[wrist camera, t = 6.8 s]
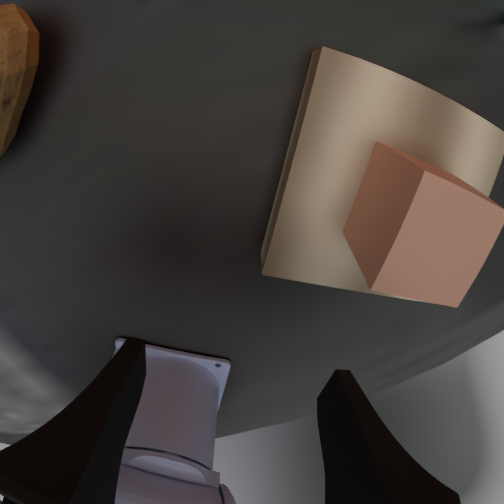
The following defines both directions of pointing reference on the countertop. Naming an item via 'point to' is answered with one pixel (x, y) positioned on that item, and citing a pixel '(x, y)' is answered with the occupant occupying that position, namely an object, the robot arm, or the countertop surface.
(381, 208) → the cube
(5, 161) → the countertop surface
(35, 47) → the potato
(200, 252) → the countertop surface
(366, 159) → the pedestal
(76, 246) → the countertop surface
